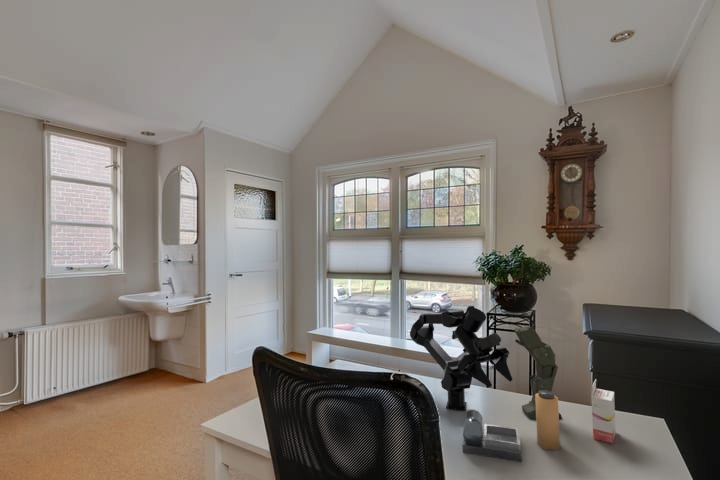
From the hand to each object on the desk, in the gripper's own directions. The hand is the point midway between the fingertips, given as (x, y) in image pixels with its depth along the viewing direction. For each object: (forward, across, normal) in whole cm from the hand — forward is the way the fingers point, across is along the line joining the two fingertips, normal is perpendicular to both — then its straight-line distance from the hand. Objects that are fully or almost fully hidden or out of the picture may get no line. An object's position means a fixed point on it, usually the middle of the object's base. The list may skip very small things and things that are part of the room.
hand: (501, 383), depth 106 cm
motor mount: (+12, -9, +8) cm, 17 cm away
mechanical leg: (+8, +19, +11) cm, 23 cm away
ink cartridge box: (+22, +22, -1) cm, 31 cm away
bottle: (+18, +4, +3) cm, 19 cm away
